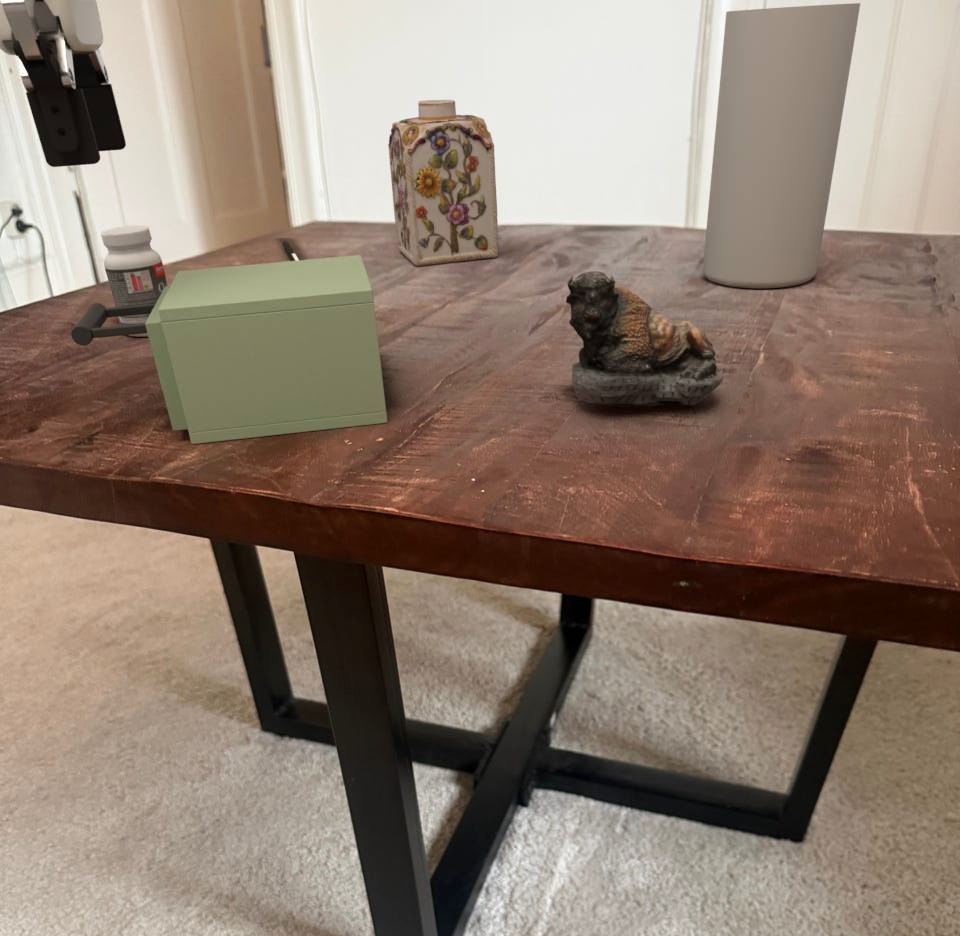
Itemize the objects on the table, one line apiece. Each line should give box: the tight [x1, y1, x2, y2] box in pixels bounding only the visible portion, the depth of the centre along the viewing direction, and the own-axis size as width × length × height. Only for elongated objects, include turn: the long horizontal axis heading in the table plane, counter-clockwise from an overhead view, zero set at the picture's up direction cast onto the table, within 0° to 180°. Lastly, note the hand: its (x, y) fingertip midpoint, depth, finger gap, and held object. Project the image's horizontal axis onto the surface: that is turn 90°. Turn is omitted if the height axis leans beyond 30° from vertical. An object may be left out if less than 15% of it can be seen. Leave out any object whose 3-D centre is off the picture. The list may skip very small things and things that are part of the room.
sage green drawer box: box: [158, 254, 388, 445], centre depth 69 cm, size 15×13×10 cm
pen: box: [282, 240, 300, 261], centre depth 121 cm, size 1×19×1 cm, turn 16°
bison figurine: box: [565, 270, 724, 408], centre depth 64 cm, size 12×7×10 cm, turn 97°
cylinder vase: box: [702, 2, 861, 290], centre depth 92 cm, size 12×12×25 cm
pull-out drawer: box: [70, 285, 188, 432], centre depth 68 cm, size 19×12×8 cm, turn 100°
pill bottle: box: [100, 225, 169, 338], centre depth 90 cm, size 6×6×10 cm
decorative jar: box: [387, 99, 499, 267], centre depth 113 cm, size 12×12×18 cm
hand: (90, 157), depth 59 cm, fingers open, 9 cm apart
